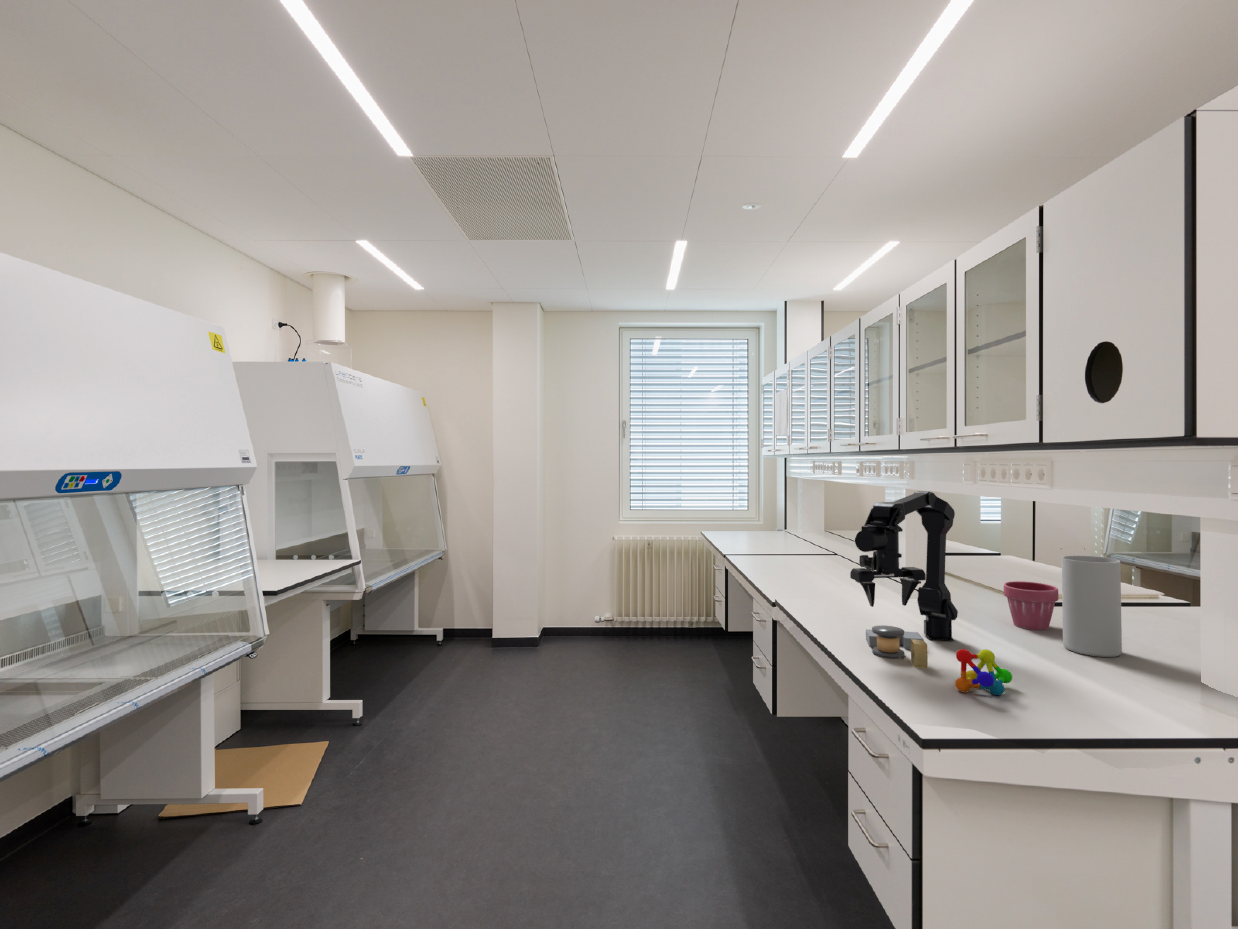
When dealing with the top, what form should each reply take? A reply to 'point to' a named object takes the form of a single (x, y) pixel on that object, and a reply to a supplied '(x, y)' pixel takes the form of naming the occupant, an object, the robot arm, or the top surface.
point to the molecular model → (981, 672)
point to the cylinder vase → (1092, 605)
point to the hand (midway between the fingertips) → (888, 605)
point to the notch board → (903, 640)
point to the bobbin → (888, 642)
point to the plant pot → (1031, 603)
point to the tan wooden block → (919, 653)
